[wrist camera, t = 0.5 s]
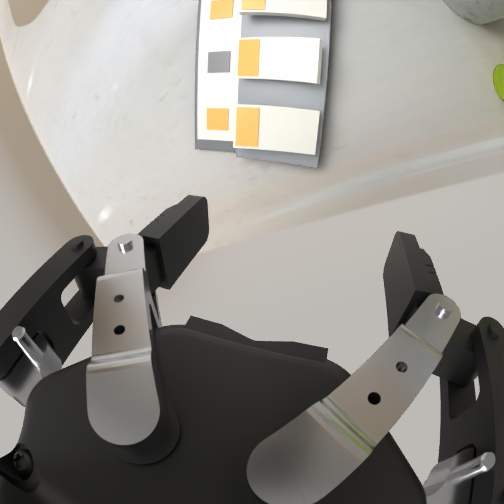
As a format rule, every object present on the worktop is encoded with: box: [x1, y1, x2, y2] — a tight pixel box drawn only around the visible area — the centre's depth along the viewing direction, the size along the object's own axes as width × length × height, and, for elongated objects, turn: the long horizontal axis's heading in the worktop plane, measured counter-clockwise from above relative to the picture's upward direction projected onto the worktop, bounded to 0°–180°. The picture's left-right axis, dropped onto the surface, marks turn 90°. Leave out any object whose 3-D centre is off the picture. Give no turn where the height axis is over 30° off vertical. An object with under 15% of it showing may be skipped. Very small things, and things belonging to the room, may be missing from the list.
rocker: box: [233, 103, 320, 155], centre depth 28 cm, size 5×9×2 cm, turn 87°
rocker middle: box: [236, 37, 323, 84], centre depth 23 cm, size 5×9×2 cm, turn 88°
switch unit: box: [195, 0, 332, 168], centre depth 27 cm, size 25×17×4 cm
